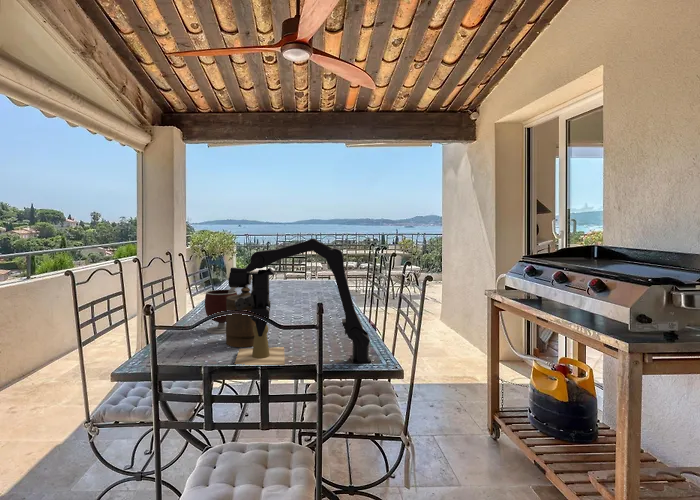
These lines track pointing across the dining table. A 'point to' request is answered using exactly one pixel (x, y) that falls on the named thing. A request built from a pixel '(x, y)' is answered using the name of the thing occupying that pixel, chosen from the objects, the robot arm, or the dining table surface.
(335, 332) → the dining table surface
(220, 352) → the dining table surface
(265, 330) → the cork
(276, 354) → the serving board
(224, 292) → the mate gourd
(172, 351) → the dining table surface
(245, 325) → the wooden container
